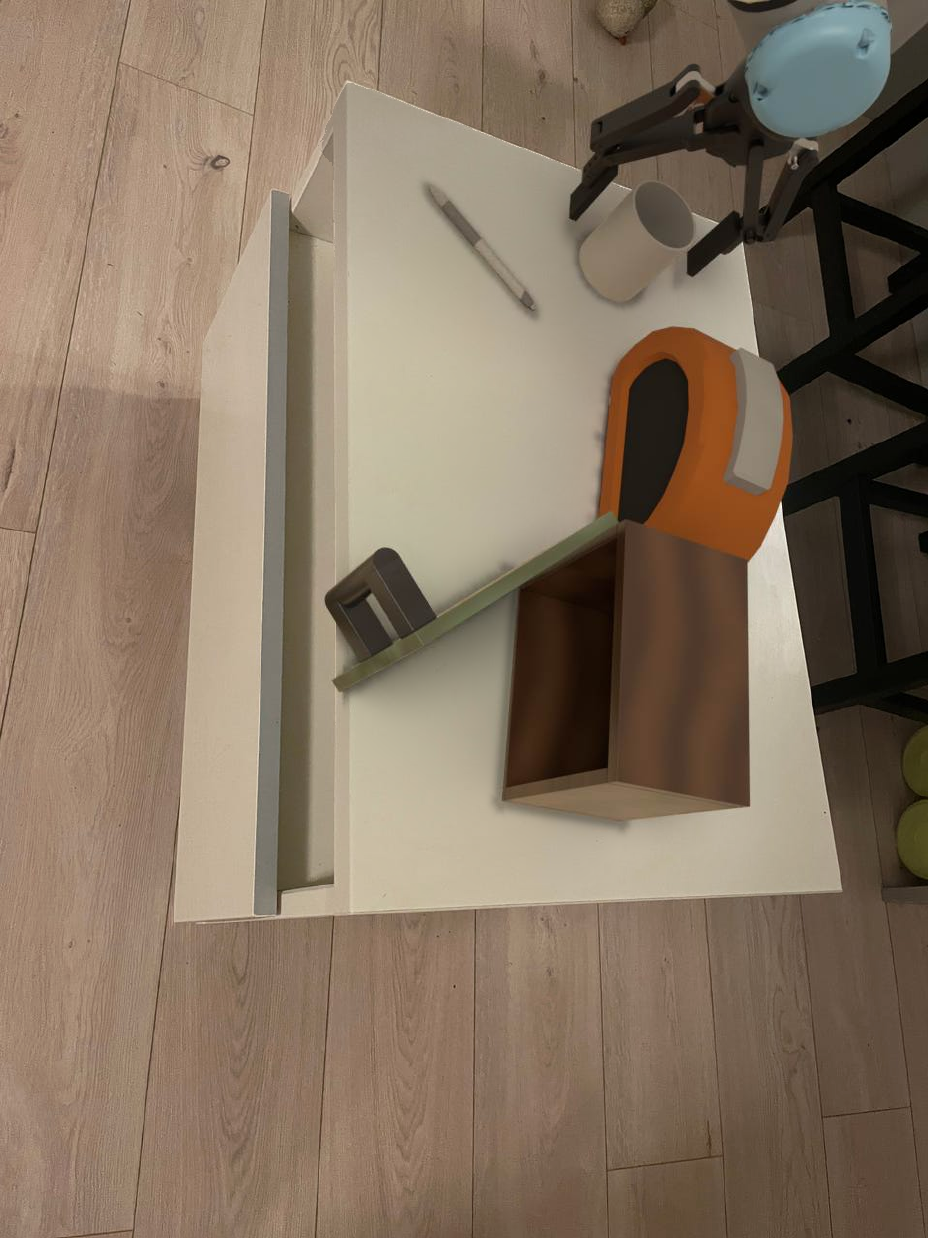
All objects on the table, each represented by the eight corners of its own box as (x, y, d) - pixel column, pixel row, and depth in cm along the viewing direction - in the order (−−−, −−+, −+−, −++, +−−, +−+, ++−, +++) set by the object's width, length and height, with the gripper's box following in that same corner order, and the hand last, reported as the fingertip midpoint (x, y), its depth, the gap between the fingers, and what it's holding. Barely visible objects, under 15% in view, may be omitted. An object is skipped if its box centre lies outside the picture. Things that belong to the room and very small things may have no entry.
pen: (526, 316, 84) (534, 308, 83) (421, 194, 82) (428, 184, 81) (532, 311, 84) (540, 303, 83) (428, 190, 82) (435, 179, 81)
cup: (572, 286, 88) (629, 228, 80) (581, 204, 91) (637, 142, 84) (633, 316, 91) (694, 263, 83) (640, 236, 94) (699, 178, 86)
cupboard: (497, 801, 70) (616, 781, 57) (514, 581, 76) (626, 518, 63) (616, 821, 75) (750, 807, 62) (623, 612, 80) (747, 559, 68)
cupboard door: (289, 615, 66) (364, 550, 53) (469, 515, 75) (570, 440, 63) (336, 693, 66) (423, 646, 54) (511, 584, 76) (619, 522, 63)
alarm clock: (603, 365, 87) (728, 262, 73) (678, 400, 90) (811, 308, 76) (580, 593, 79) (715, 527, 65) (663, 623, 82) (809, 566, 68)
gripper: (672, 21, 63) (516, 215, 81) (923, 174, 73) (734, 317, 91) (674, -56, 66) (522, 149, 84) (916, 102, 76) (734, 255, 94)
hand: (632, 237), depth 88 cm, fingers open, 13 cm apart
